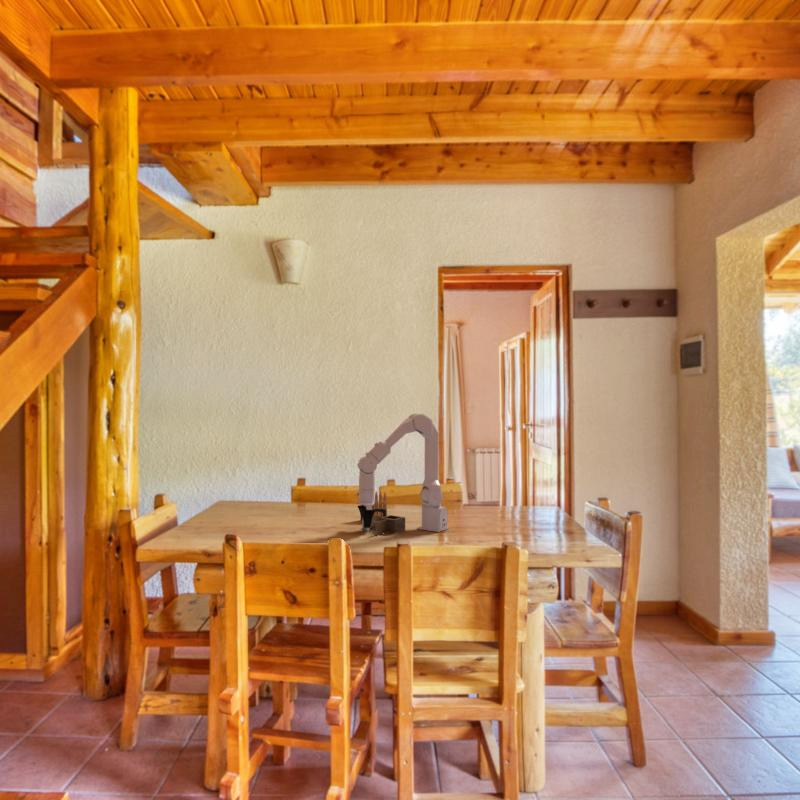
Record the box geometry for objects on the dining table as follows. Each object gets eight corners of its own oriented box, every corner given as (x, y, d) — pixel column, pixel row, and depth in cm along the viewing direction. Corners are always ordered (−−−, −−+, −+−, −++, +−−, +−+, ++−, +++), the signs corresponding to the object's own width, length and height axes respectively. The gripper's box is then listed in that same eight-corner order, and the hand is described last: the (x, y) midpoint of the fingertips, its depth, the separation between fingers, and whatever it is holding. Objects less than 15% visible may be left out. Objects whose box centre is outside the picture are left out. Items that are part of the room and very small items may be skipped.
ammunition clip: (360, 520, 243) (360, 491, 243) (361, 520, 245) (362, 490, 245) (386, 522, 241) (386, 492, 241) (387, 521, 243) (387, 491, 243)
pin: (371, 531, 223) (371, 509, 223) (366, 532, 221) (367, 510, 221) (365, 530, 225) (365, 509, 225) (360, 531, 222) (361, 510, 222)
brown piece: (405, 530, 226) (405, 517, 226) (383, 537, 214) (384, 523, 214) (375, 525, 233) (375, 513, 233) (353, 532, 222) (353, 518, 222)
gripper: (353, 486, 229) (352, 522, 229) (358, 492, 215) (357, 530, 215) (371, 486, 230) (371, 522, 230) (378, 492, 216) (377, 530, 216)
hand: (366, 526), depth 223 cm, fingers open, 4 cm apart
